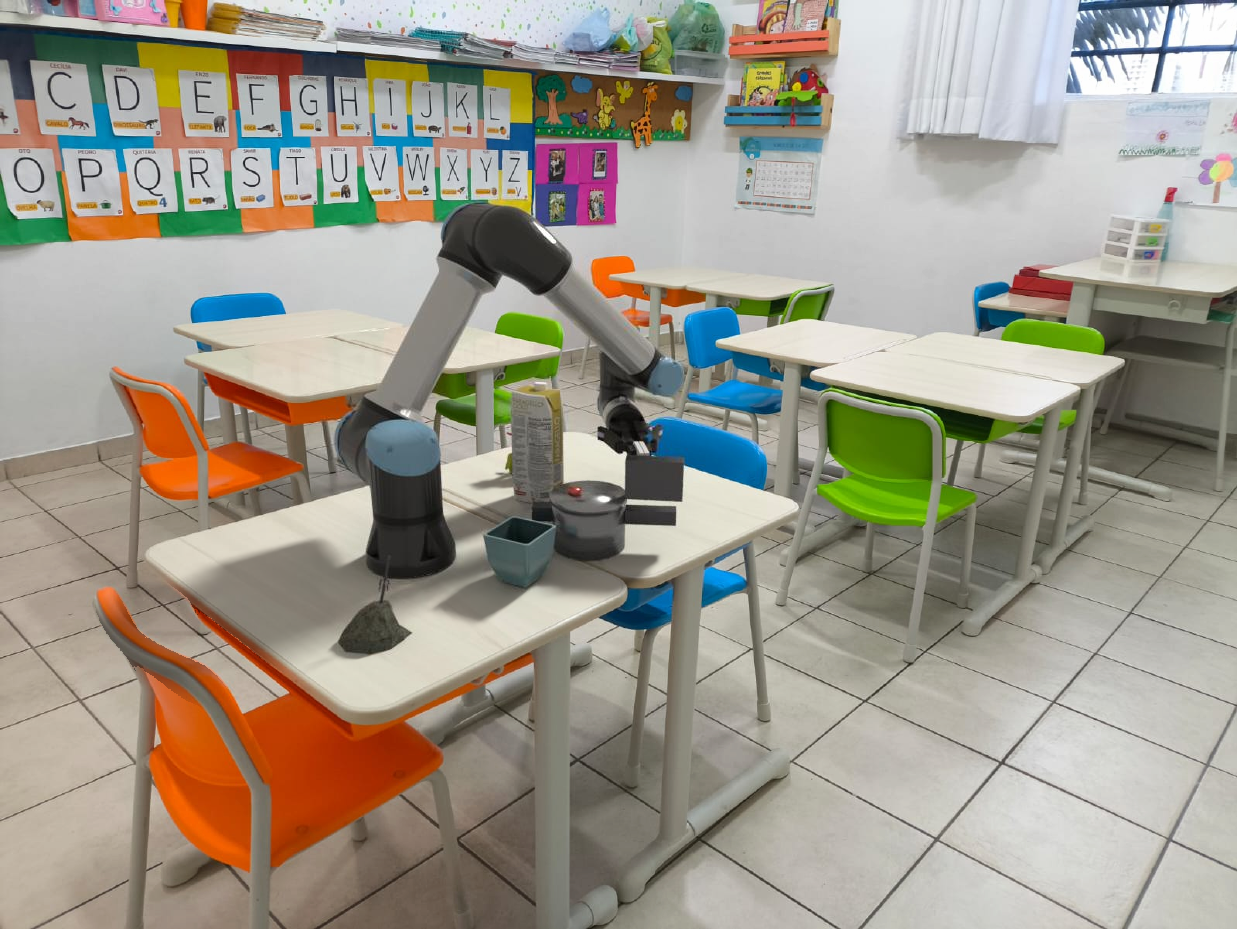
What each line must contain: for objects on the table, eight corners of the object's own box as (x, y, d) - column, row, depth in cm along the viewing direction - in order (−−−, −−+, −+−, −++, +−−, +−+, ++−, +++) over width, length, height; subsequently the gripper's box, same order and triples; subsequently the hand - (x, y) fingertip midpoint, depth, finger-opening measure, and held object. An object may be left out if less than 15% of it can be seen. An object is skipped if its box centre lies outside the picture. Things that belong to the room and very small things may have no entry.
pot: (528, 558, 152) (526, 513, 149) (538, 528, 164) (537, 486, 161) (675, 564, 150) (676, 518, 147) (674, 532, 163) (676, 490, 160)
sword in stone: (360, 664, 121) (350, 585, 117) (330, 645, 126) (320, 569, 122) (421, 636, 128) (413, 561, 124) (390, 619, 133) (382, 547, 129)
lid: (543, 512, 148) (542, 467, 146) (556, 483, 161) (556, 441, 158) (681, 519, 146) (682, 473, 144) (683, 489, 159) (685, 447, 156)
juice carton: (568, 496, 179) (567, 382, 170) (547, 509, 172) (545, 391, 164) (530, 488, 183) (527, 376, 175) (508, 500, 176) (504, 385, 168)
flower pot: (483, 584, 143) (481, 533, 140) (514, 563, 150) (512, 514, 147) (528, 596, 139) (527, 545, 136) (557, 574, 146) (557, 525, 143)
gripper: (591, 403, 173) (607, 441, 151) (657, 401, 175) (682, 438, 153) (591, 439, 176) (607, 481, 154) (656, 437, 178) (680, 478, 156)
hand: (644, 460), depth 154 cm, fingers closed
